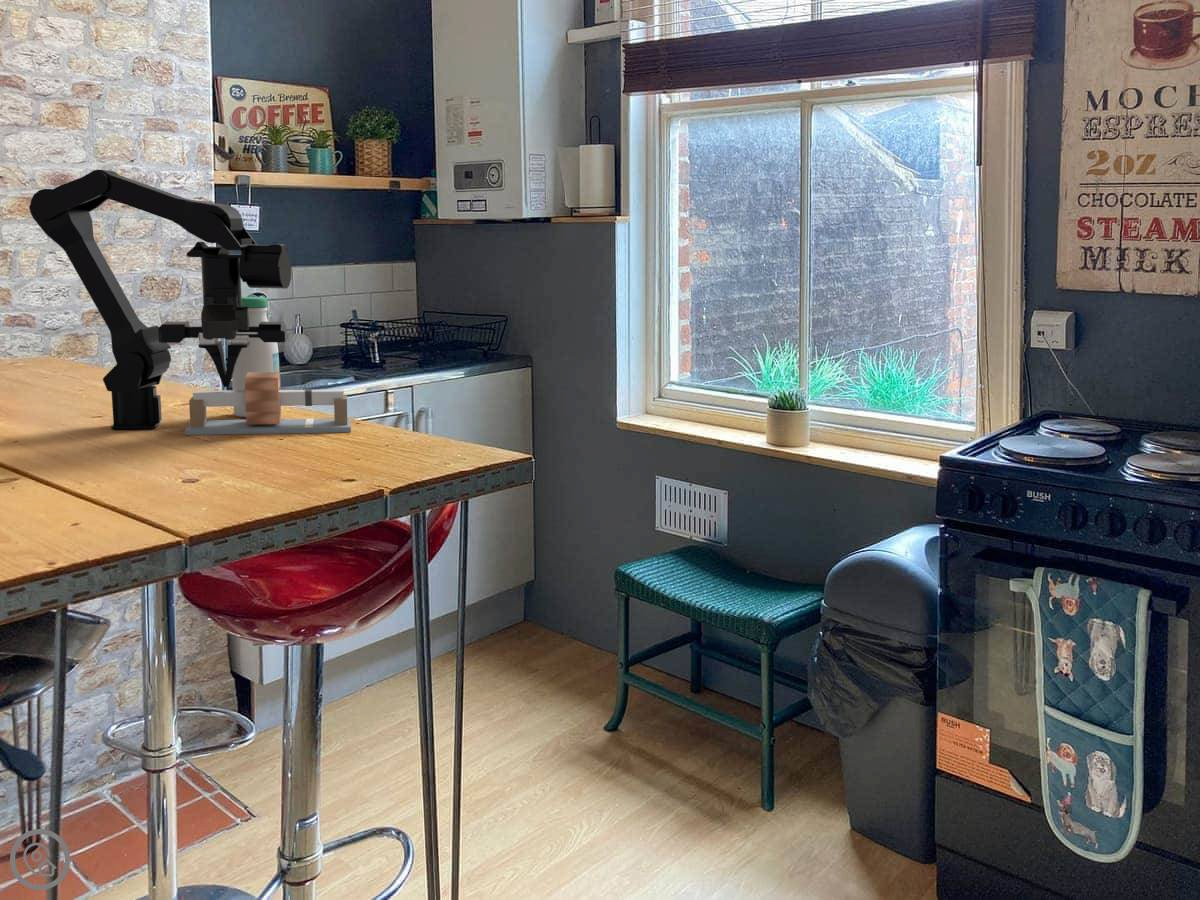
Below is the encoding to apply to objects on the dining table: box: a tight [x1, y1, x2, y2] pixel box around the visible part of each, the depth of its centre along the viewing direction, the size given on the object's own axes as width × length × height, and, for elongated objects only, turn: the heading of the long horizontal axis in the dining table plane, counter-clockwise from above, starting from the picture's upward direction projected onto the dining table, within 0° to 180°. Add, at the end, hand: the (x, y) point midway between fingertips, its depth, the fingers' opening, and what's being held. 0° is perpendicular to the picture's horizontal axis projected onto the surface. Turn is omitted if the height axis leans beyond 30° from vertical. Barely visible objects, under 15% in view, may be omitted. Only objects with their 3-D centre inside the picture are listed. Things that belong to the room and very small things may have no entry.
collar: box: [245, 371, 282, 425], centre depth 182 cm, size 5×6×7 cm
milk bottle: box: [231, 296, 280, 418], centre depth 193 cm, size 8×8×20 cm
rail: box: [184, 388, 352, 436], centre depth 182 cm, size 25×8×6 cm, turn 102°
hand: (226, 386), depth 180 cm, fingers closed
